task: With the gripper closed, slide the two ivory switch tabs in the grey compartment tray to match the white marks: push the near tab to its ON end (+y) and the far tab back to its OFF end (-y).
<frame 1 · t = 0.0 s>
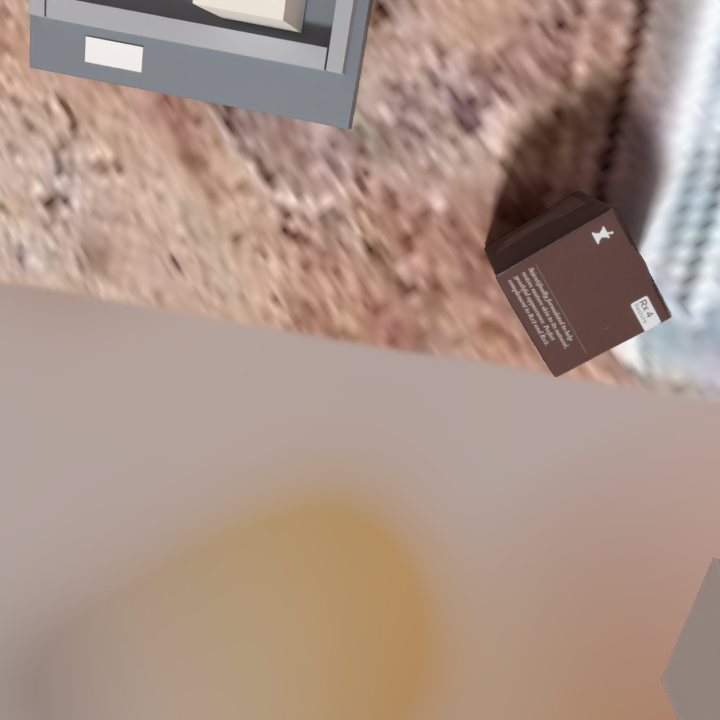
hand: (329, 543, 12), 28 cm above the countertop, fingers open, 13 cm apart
box: (555, 263, 38), on the countertop
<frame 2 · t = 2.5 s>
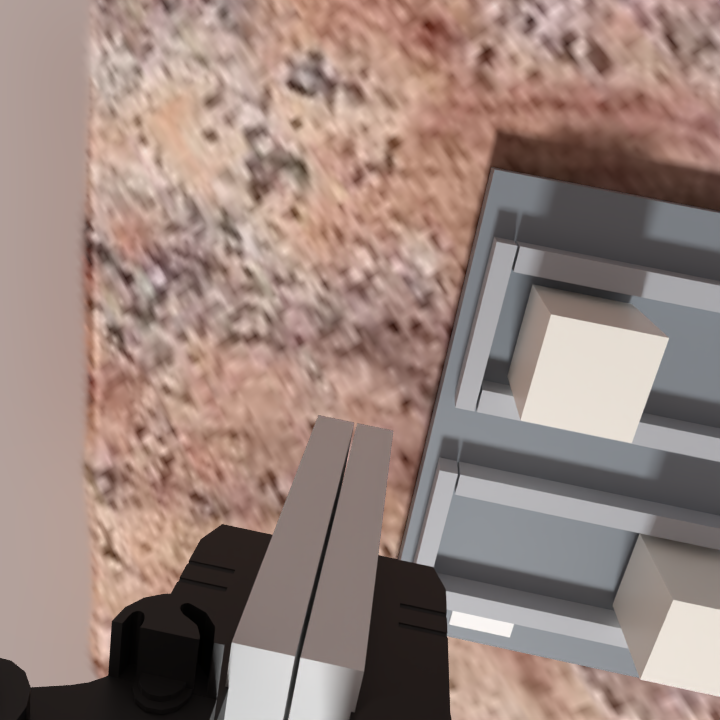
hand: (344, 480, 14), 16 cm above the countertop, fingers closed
tab b: (686, 612, 29), point 4 cm above the countertop, slide at 7.5 cm
grey compartment tray: (616, 448, 31), on the countertop
tab a: (579, 359, 26), point 4 cm above the countertop, slide at 0.0 cm
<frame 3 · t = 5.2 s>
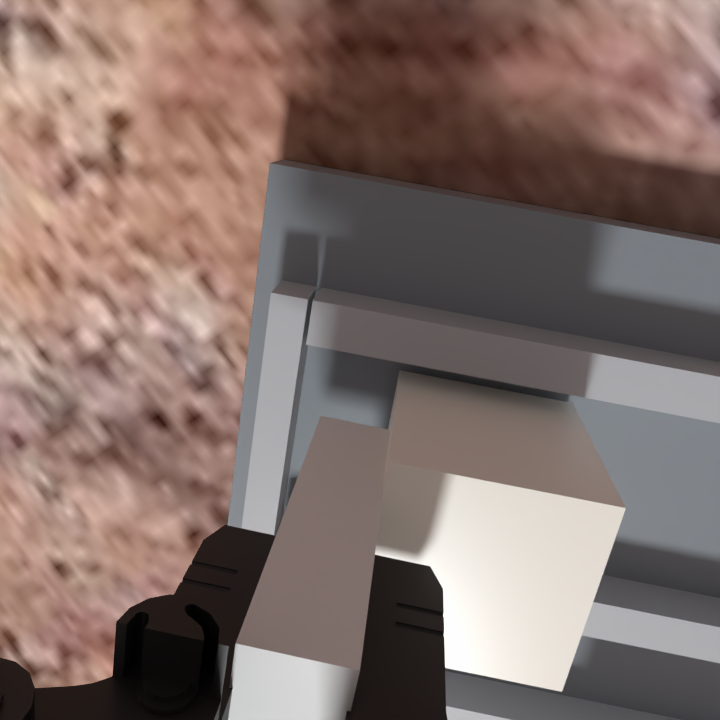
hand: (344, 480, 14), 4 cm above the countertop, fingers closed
grey compartment tray: (525, 605, 20), on the countertop
tab a: (472, 513, 14), point 4 cm above the countertop, slide at 1.1 cm, touching gripper
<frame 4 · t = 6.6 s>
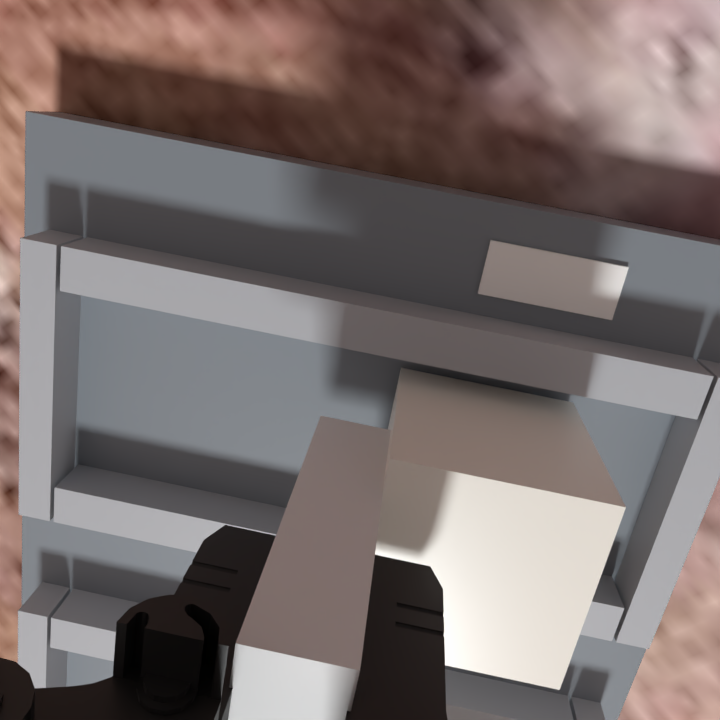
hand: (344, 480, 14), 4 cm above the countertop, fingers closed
grey compartment tray: (333, 564, 20), on the countertop
tab a: (471, 511, 14), point 4 cm above the countertop, slide at 6.7 cm, touching gripper
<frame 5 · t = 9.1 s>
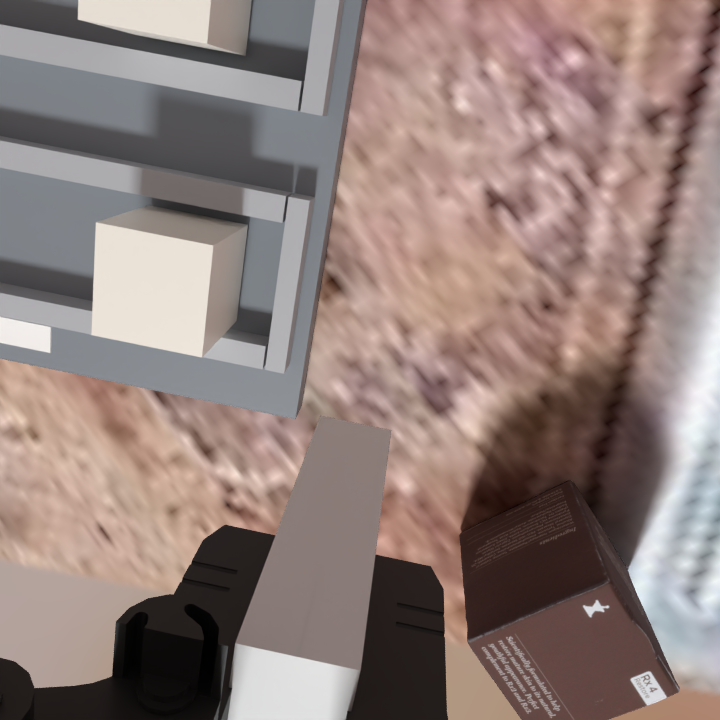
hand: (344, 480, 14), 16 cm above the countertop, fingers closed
tab b: (173, 277, 25), point 4 cm above the countertop, slide at 7.5 cm
grey compartment tray: (134, 118, 28), on the countertop
box: (542, 548, 33), on the countertop
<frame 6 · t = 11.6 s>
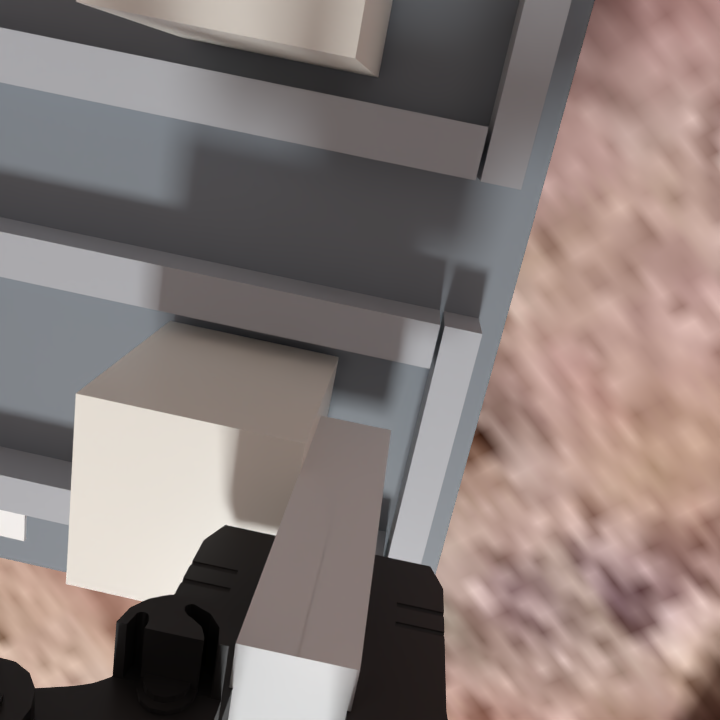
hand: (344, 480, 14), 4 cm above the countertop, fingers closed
tab b: (215, 459, 14), point 4 cm above the countertop, slide at 7.0 cm, touching gripper
grey compartment tray: (169, 175, 17), on the countertop
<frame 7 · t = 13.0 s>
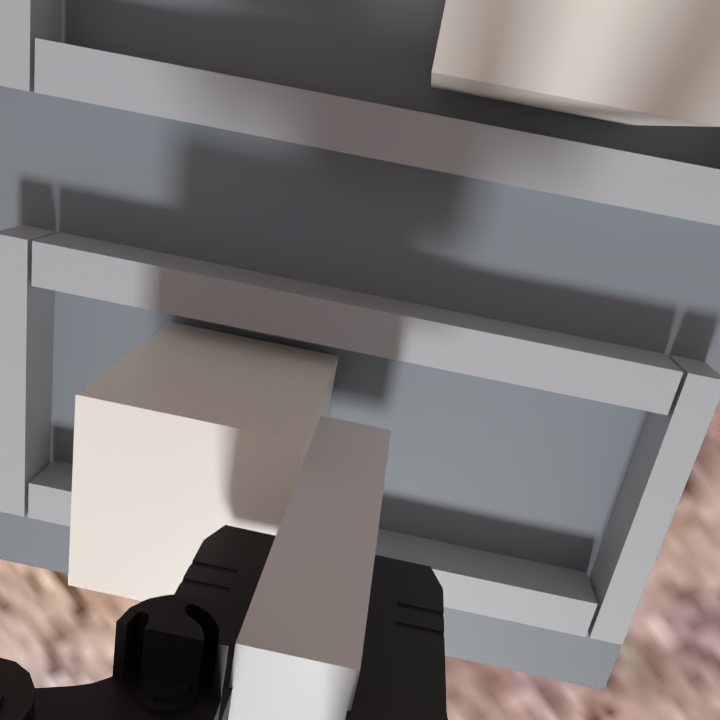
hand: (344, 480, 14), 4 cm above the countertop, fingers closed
tab b: (216, 459, 14), point 4 cm above the countertop, slide at 1.8 cm, touching gripper
grey compartment tray: (375, 217, 16), on the countertop
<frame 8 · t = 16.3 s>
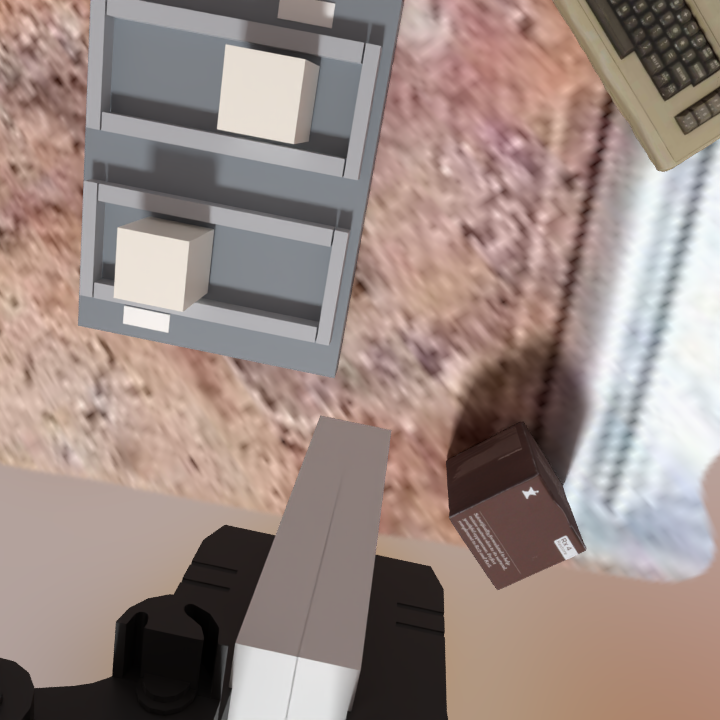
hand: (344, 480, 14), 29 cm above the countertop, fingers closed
tab b: (165, 262, 40), point 4 cm above the countertop, slide at 1.8 cm
grey compartment tray: (231, 176, 42), on the countertop
box: (504, 472, 47), on the countertop
tab a: (270, 96, 36), point 4 cm above the countertop, slide at 6.7 cm
computer: (645, 6, 37), on the countertop
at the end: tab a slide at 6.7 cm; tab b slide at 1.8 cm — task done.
